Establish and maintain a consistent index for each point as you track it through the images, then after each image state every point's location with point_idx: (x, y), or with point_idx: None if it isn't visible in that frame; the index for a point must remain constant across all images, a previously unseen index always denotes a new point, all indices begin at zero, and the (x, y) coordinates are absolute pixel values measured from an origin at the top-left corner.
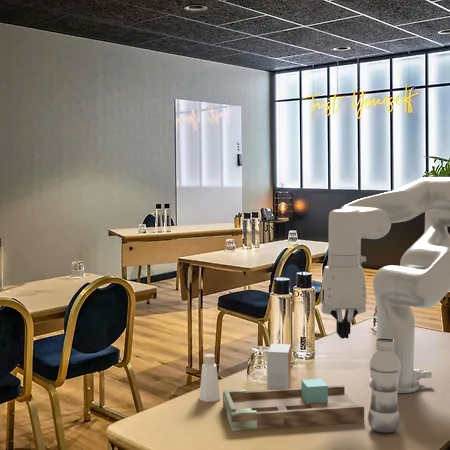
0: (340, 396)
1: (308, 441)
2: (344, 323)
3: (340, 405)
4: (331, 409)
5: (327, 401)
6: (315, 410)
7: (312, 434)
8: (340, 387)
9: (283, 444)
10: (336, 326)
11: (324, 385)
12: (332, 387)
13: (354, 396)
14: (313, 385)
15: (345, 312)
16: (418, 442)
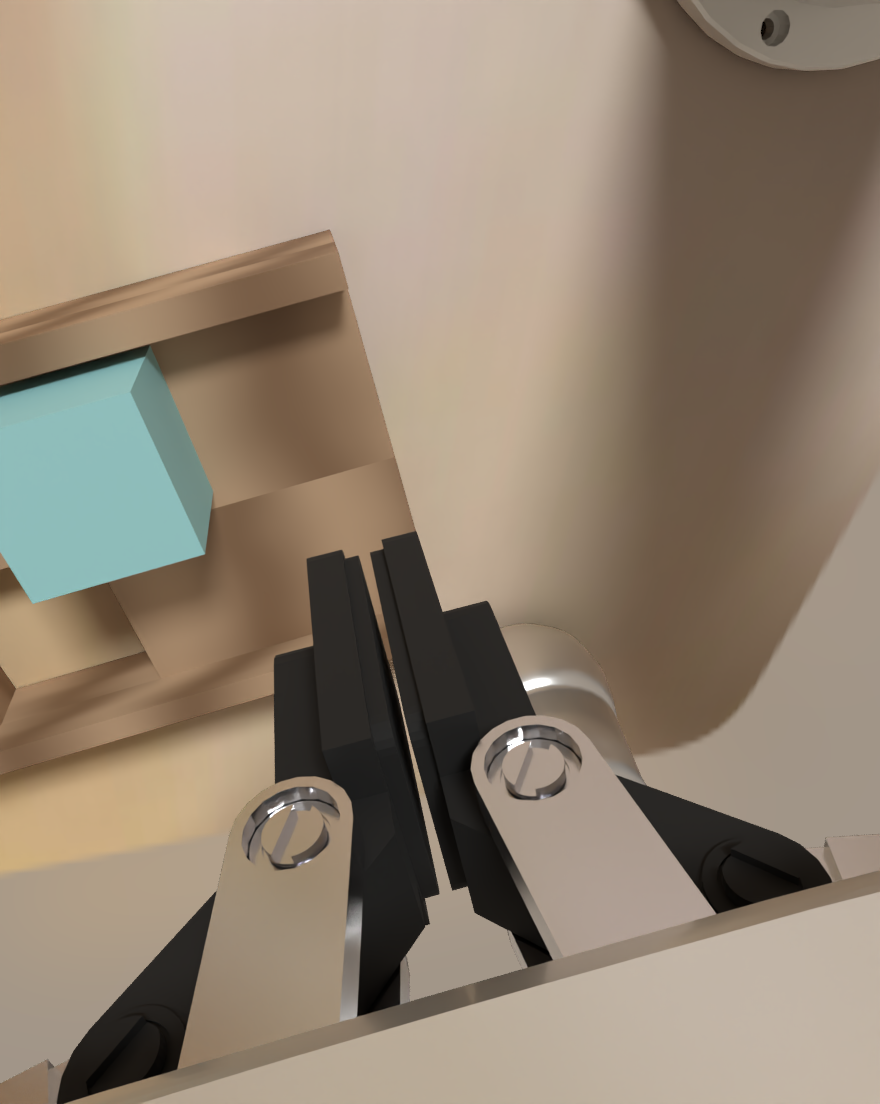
0: (307, 365)
1: (143, 818)
2: (429, 891)
3: (303, 531)
4: (244, 701)
5: (210, 493)
6: (146, 729)
7: (154, 758)
8: (311, 298)
9: (29, 861)
10: (274, 718)
11: (175, 550)
12: (240, 318)
13: (427, 152)
14: (80, 565)
15: (527, 903)
16: (629, 737)
